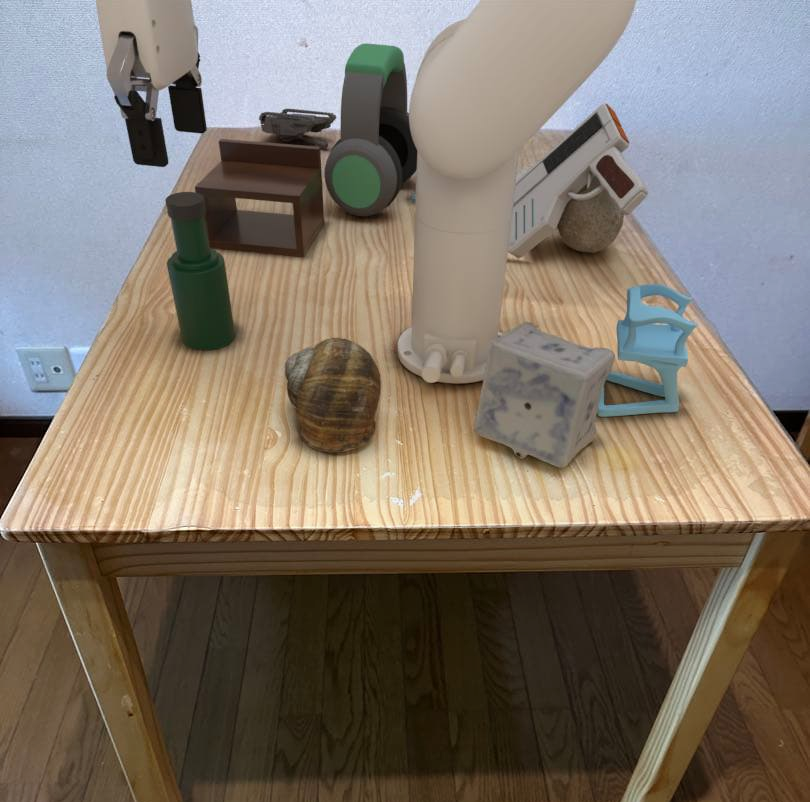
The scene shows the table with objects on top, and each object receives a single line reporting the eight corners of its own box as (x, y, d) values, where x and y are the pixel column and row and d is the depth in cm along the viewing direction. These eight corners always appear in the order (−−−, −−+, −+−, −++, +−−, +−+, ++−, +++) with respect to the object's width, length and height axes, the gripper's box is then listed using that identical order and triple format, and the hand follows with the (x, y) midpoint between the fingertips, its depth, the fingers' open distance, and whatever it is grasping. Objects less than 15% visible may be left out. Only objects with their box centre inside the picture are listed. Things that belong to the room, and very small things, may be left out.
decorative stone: (547, 233, 111) (558, 159, 104) (606, 234, 111) (621, 160, 104) (557, 265, 104) (569, 188, 97) (620, 266, 104) (637, 189, 97)
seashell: (292, 389, 82) (285, 319, 77) (381, 389, 82) (381, 320, 77) (282, 455, 74) (273, 383, 69) (380, 455, 74) (380, 383, 69)
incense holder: (598, 435, 77) (621, 341, 70) (562, 479, 72) (582, 383, 65) (510, 402, 81) (523, 310, 74) (470, 442, 76) (479, 347, 69)
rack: (303, 257, 105) (297, 175, 98) (204, 247, 107) (191, 166, 99) (324, 224, 113) (320, 146, 105) (231, 215, 114) (220, 138, 107)
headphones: (361, 172, 127) (358, 28, 113) (426, 180, 125) (431, 34, 111) (321, 216, 114) (312, 60, 100) (393, 226, 112) (394, 67, 98)
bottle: (224, 353, 87) (202, 212, 76) (173, 347, 88) (144, 207, 77) (242, 326, 91) (223, 190, 81) (193, 321, 92) (168, 185, 81)
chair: (679, 425, 79) (714, 316, 70) (596, 416, 80) (621, 307, 71) (674, 384, 84) (706, 278, 76) (596, 375, 85) (618, 270, 77)
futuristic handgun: (525, 299, 104) (494, 215, 110) (656, 198, 92) (614, 108, 98) (513, 293, 102) (482, 207, 108) (645, 188, 91) (603, 97, 96)
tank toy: (310, 117, 129) (312, 152, 132) (341, 111, 136) (342, 145, 139) (251, 112, 133) (254, 146, 136) (284, 107, 140) (286, 139, 143)
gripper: (136, -92, 70) (170, 117, 82) (37, -66, 58) (94, 175, 70) (216, -87, 69) (239, 123, 81) (133, -60, 57) (174, 183, 69)
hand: (172, 147), depth 75 cm, fingers open, 9 cm apart
